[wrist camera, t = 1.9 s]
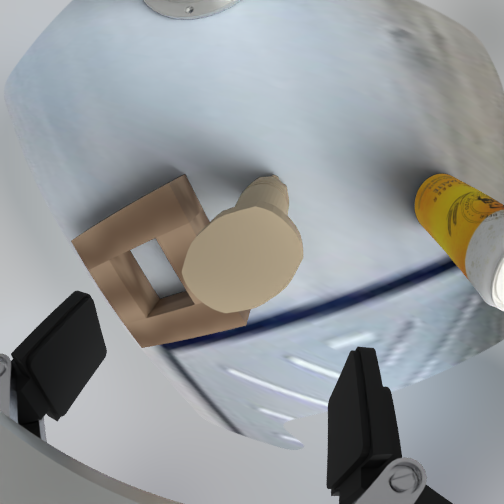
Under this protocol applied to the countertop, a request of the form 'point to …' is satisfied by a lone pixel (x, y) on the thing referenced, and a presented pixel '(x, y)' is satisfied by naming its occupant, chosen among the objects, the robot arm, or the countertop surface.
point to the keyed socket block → (132, 277)
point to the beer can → (466, 231)
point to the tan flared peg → (245, 250)
